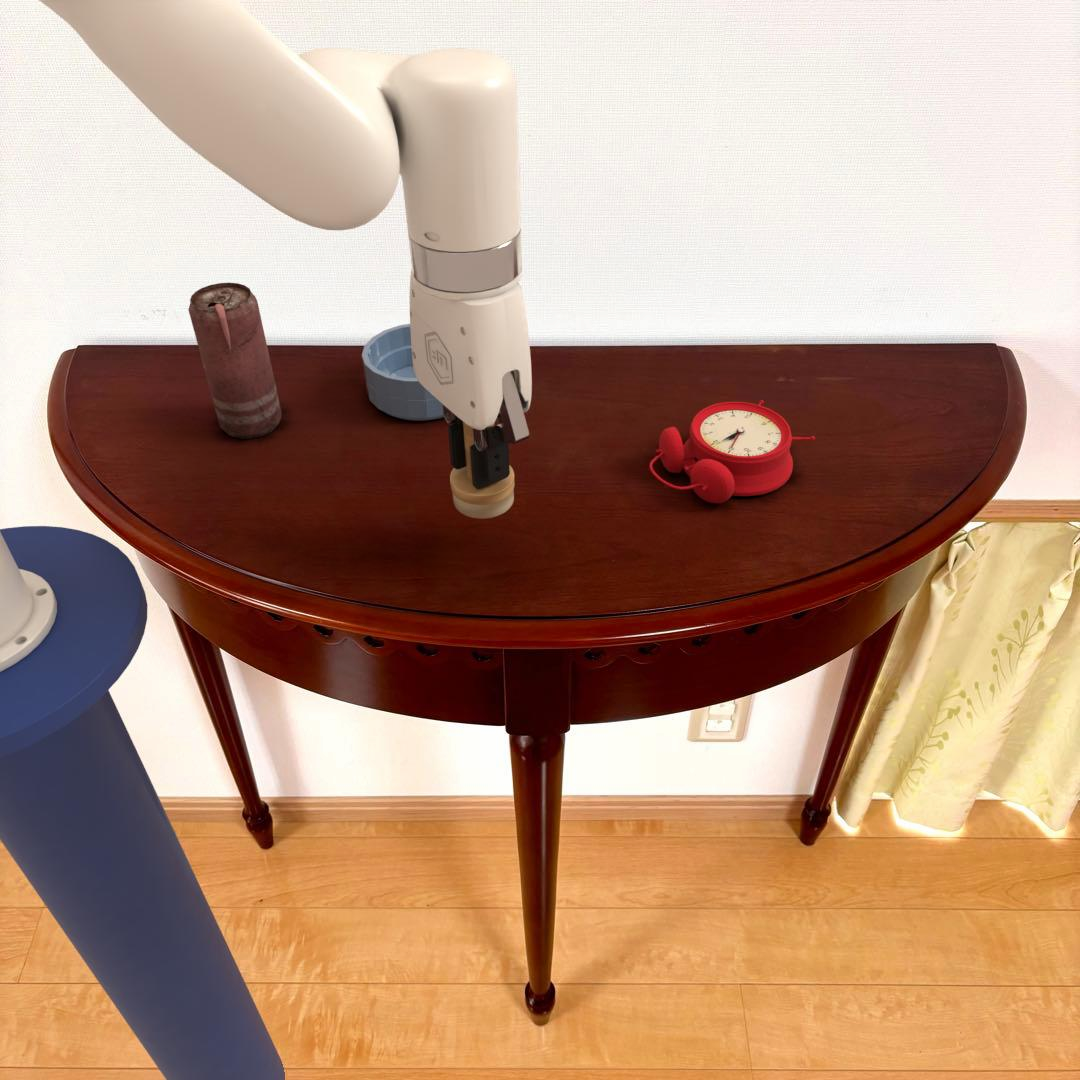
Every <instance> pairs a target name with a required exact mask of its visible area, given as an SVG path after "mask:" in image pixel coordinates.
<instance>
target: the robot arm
mask: <svg viewBox="0 0 1080 1080" xmlns="http://www.w3.org/2000/svg"><path fill="white" fill-rule="evenodd" d="M38 1H39V2H40V3H42V4H43V5H44V6H46V7H47V8H49V9H50V10H51V11H53V12H54V13H55V14H56V16H58V17H60V18H61V19H62V20H64V21H65V23H67V24H68V25H69V26H70V28H72V29H73V30H74V31H75V32H76V34H78V36H79V37H80V38H81V39H82V41H83V42H84V43H85V45H87V46H88V48H89V49H90V50H91V52H92V53H93V54H94V55H95V56H96V58H98V60H100V62H101V63H102V64H104V65H105V66H106V68H108V69H109V70H110V71H111V73H112V74H113V75H115V77H116V78H118V80H119V81H120V82H122V84H124V86H125V87H127V89H128V90H129V91H130V92H131V93H132V94H133V95H134V96H135V98H137V99H138V100H139V101H140V102H141V103H142V104H143V105H144V107H145V108H147V109H148V111H150V112H151V114H152V115H154V116H155V118H157V119H158V120H159V122H161V123H162V124H163V125H164V126H165V127H166V128H167V129H168V130H169V131H171V133H173V134H174V135H175V136H176V137H177V138H178V139H180V140H181V141H182V142H183V143H184V144H186V146H188V147H189V148H190V149H192V151H194V152H195V153H197V155H199V156H201V157H202V158H203V159H204V160H206V161H207V162H208V163H210V164H211V165H212V166H214V167H215V168H217V169H218V170H220V171H221V172H222V173H224V174H225V175H227V176H228V177H229V178H231V179H232V180H234V181H235V182H237V184H239V185H240V186H242V187H244V188H245V189H246V190H248V191H249V192H250V193H252V194H254V195H255V196H257V198H259V199H261V200H262V201H264V202H265V203H267V204H268V205H269V206H271V207H272V208H274V209H276V210H277V211H279V212H280V213H283V214H284V215H286V216H288V217H289V218H291V219H293V220H295V221H297V222H300V223H302V224H305V225H307V226H310V227H313V228H317V229H320V230H326V231H346V230H347V231H348V230H353V229H354V230H355V229H356V228H359V227H362V226H364V225H366V224H368V223H370V222H371V221H373V220H374V219H376V218H377V217H378V216H379V215H380V214H381V213H382V212H384V211H385V209H386V208H387V206H388V205H389V203H390V202H391V200H392V198H393V197H394V194H395V192H396V189H397V186H398V182H399V178H400V177H401V181H402V189H403V190H402V191H403V198H404V199H403V200H404V208H405V209H404V210H405V217H406V218H405V219H406V227H407V235H408V246H409V257H410V264H411V270H410V276H409V300H408V301H409V324H410V331H411V346H412V359H413V368H414V373H415V376H416V378H417V379H418V381H419V382H420V384H421V385H422V386H423V387H424V388H425V389H426V390H428V391H429V392H430V393H431V394H432V395H433V396H434V397H435V398H436V399H438V400H439V401H440V402H441V403H442V404H443V414H444V417H443V418H444V420H445V422H446V423H447V424H448V425H449V426H447V434H448V445H449V457H450V465H451V466H452V467H453V468H455V469H461V468H464V467H466V455H465V442H464V430H463V422H465V423H466V424H467V425H469V426H470V427H472V428H473V435H474V443H475V444H473V445H472V446H470V458H471V472H472V484H473V486H474V487H475V488H476V489H478V490H479V489H482V488H484V487H487V486H489V485H491V484H494V483H496V482H498V481H500V480H503V479H505V478H507V477H508V476H509V474H510V466H511V465H510V445H515V444H518V443H520V442H523V441H525V440H528V439H530V429H529V428H528V423H527V420H526V416H525V413H527V412H528V411H529V410H530V408H531V403H532V396H533V395H532V394H533V378H532V377H533V375H532V360H531V359H532V357H531V348H530V347H531V345H530V334H529V328H528V327H529V326H528V319H527V312H526V306H525V300H524V294H523V287H522V285H521V284H520V282H521V280H522V277H523V255H522V228H521V226H522V224H521V223H522V220H521V219H522V217H521V177H520V176H521V175H520V174H521V173H520V143H519V141H520V136H519V135H520V133H519V132H520V131H519V99H518V98H519V97H518V86H517V85H518V83H517V79H516V75H515V74H514V70H513V69H512V67H511V65H510V64H509V63H508V62H507V61H506V59H504V58H502V57H501V56H500V55H498V54H495V53H492V52H489V51H485V50H481V49H474V48H461V47H460V48H456V47H455V48H442V49H435V50H429V51H424V52H421V53H419V54H415V55H414V54H398V53H397V54H396V53H388V52H387V53H386V52H376V51H375V52H374V51H368V50H357V49H352V48H339V47H323V48H315V49H310V50H308V51H307V50H306V51H305V52H302V53H299V54H297V53H296V52H294V51H293V50H292V49H291V48H290V47H288V46H287V45H286V44H285V43H284V42H283V41H281V39H279V37H277V36H276V35H275V34H273V33H272V32H271V31H270V30H269V29H268V28H267V27H266V26H265V25H264V24H263V23H261V22H260V21H259V19H257V18H256V17H255V16H254V15H253V14H252V13H251V12H250V11H249V10H248V9H247V8H246V7H245V6H244V5H243V4H242V3H241V1H239V0H38ZM496 420H497V424H496V425H495V422H496ZM493 424H494V426H493V427H491V428H490V429H488V430H487V427H489V426H492V425H493ZM509 444H510V445H509ZM509 465H510V466H509ZM56 614H57V601H56V598H55V595H54V593H53V591H52V589H51V587H50V586H49V584H48V583H47V582H46V581H45V580H44V579H43V578H42V577H40V576H38V575H36V574H34V573H32V572H29V571H26V570H22V569H19V568H18V566H17V564H16V562H15V560H14V558H13V556H12V554H11V552H10V550H9V548H8V546H7V544H6V542H5V540H4V538H3V536H2V534H1V532H0V672H1V671H3V670H5V669H7V668H8V667H10V666H12V665H14V664H16V663H17V662H18V661H20V660H21V659H23V658H24V657H25V656H27V655H28V654H29V653H31V652H32V651H33V650H34V649H35V648H36V647H37V646H38V645H39V644H40V643H41V642H42V641H43V639H44V638H45V637H46V636H47V634H48V633H49V631H50V630H51V628H52V626H53V624H54V622H55V618H56Z"/></svg>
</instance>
